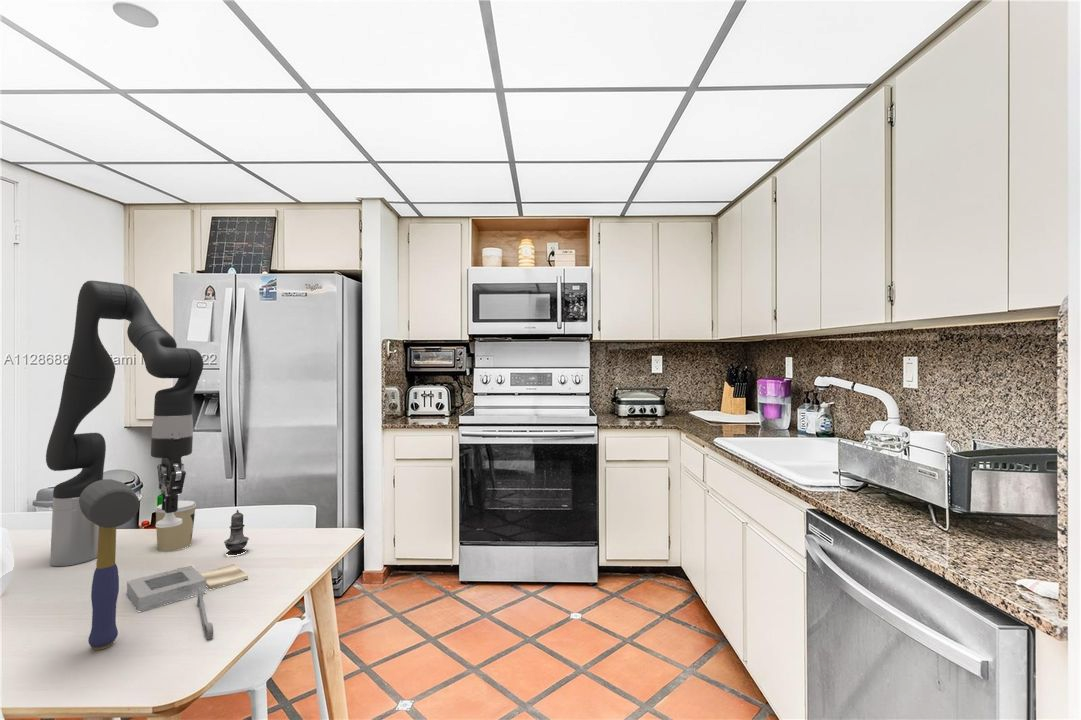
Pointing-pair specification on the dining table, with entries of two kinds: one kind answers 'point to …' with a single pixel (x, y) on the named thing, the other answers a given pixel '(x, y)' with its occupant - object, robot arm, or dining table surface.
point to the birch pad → (223, 576)
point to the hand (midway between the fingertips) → (169, 510)
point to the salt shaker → (236, 535)
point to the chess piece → (169, 520)
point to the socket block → (165, 587)
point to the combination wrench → (204, 616)
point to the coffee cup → (176, 527)
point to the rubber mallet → (106, 552)
